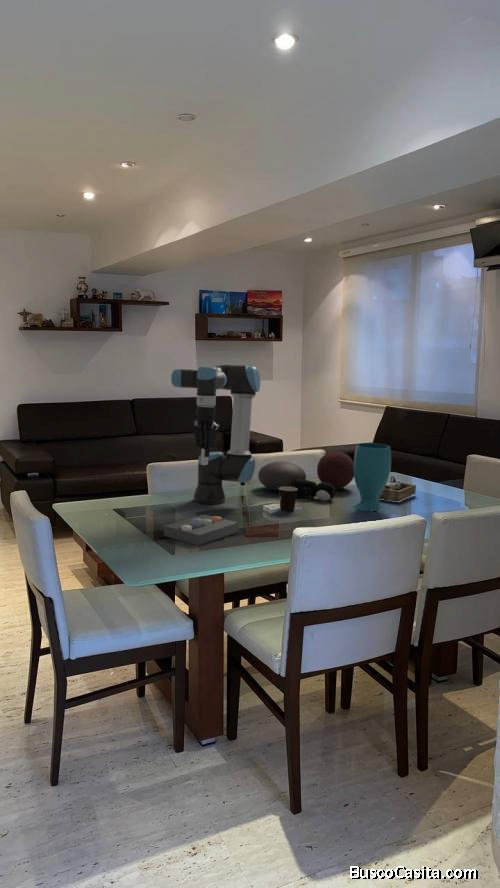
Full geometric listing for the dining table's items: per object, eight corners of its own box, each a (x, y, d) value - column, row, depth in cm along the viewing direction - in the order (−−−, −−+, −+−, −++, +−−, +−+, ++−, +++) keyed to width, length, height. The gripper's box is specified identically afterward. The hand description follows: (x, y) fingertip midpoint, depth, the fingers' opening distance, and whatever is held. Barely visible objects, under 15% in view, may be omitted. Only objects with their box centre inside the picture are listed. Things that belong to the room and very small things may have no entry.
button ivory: (179, 535, 258) (179, 526, 257) (185, 533, 261) (186, 524, 260) (186, 537, 255) (187, 528, 255) (193, 535, 258) (194, 526, 258)
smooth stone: (291, 498, 332) (292, 468, 329) (248, 490, 345) (249, 462, 342) (313, 489, 352) (315, 461, 350) (272, 483, 365) (273, 456, 363)
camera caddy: (372, 498, 337) (372, 486, 336) (389, 492, 354) (390, 480, 353) (398, 503, 329) (399, 491, 328) (415, 496, 346) (416, 485, 345)
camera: (391, 500, 336) (393, 480, 335) (378, 497, 341) (379, 478, 339) (404, 495, 348) (405, 476, 347) (390, 492, 353) (392, 474, 351)
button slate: (189, 528, 262) (189, 519, 262) (196, 526, 265) (196, 517, 265) (197, 530, 260) (197, 521, 259) (203, 528, 263) (204, 519, 262)
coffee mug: (295, 513, 303) (296, 491, 302) (276, 511, 305) (277, 489, 303) (298, 507, 314) (299, 486, 313) (280, 505, 316) (281, 484, 314)
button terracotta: (209, 526, 272) (209, 517, 271) (215, 524, 275) (215, 515, 275) (216, 528, 270) (217, 519, 269) (223, 526, 273) (223, 517, 272)
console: (163, 535, 261) (164, 525, 260) (203, 523, 280) (204, 514, 280) (199, 545, 251) (199, 535, 250) (238, 532, 270) (238, 522, 269)
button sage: (199, 529, 267) (199, 520, 267) (205, 527, 270) (206, 518, 270) (207, 531, 265) (207, 522, 264) (213, 529, 268) (213, 520, 267)
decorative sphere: (316, 483, 368) (318, 447, 365) (353, 486, 365) (355, 449, 362) (315, 491, 349) (317, 453, 345) (353, 494, 346) (356, 455, 343)
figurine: (291, 486, 329) (330, 491, 322) (297, 474, 336) (335, 479, 329) (293, 500, 335) (332, 505, 327) (299, 489, 342) (337, 493, 334)
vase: (343, 507, 316) (347, 444, 312) (363, 502, 329) (367, 441, 324) (374, 515, 305) (379, 450, 300) (394, 509, 318) (399, 446, 313)
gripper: (187, 405, 267) (185, 463, 270) (212, 408, 259) (210, 468, 263) (199, 404, 273) (198, 461, 276) (224, 406, 265) (222, 465, 269)
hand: (204, 464), depth 269 cm, fingers closed
